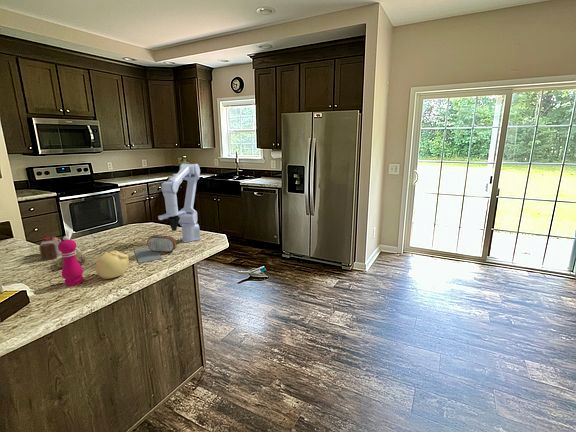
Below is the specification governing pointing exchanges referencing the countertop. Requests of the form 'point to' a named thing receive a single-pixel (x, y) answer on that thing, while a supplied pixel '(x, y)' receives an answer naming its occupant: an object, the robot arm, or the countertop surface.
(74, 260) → the pepper mill
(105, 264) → the sculpture
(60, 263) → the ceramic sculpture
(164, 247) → the tin
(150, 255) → the mat
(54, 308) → the countertop surface
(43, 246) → the food item
